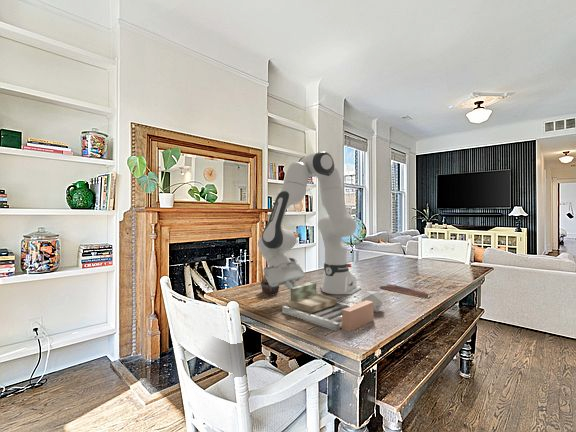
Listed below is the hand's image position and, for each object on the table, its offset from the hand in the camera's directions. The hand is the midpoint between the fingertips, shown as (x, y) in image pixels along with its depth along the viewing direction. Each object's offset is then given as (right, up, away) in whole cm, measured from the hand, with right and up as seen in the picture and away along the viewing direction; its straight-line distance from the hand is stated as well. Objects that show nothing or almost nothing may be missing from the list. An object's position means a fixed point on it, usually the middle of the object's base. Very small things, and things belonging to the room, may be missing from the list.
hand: (294, 290), depth 138 cm
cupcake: (-12, -6, +20) cm, 24 cm away
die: (+32, -7, -6) cm, 34 cm away
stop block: (+23, -7, -23) cm, 33 cm away
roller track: (+12, -7, -12) cm, 19 cm away
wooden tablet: (+57, -7, +23) cm, 62 cm away
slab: (+7, -4, -7) cm, 11 cm away
